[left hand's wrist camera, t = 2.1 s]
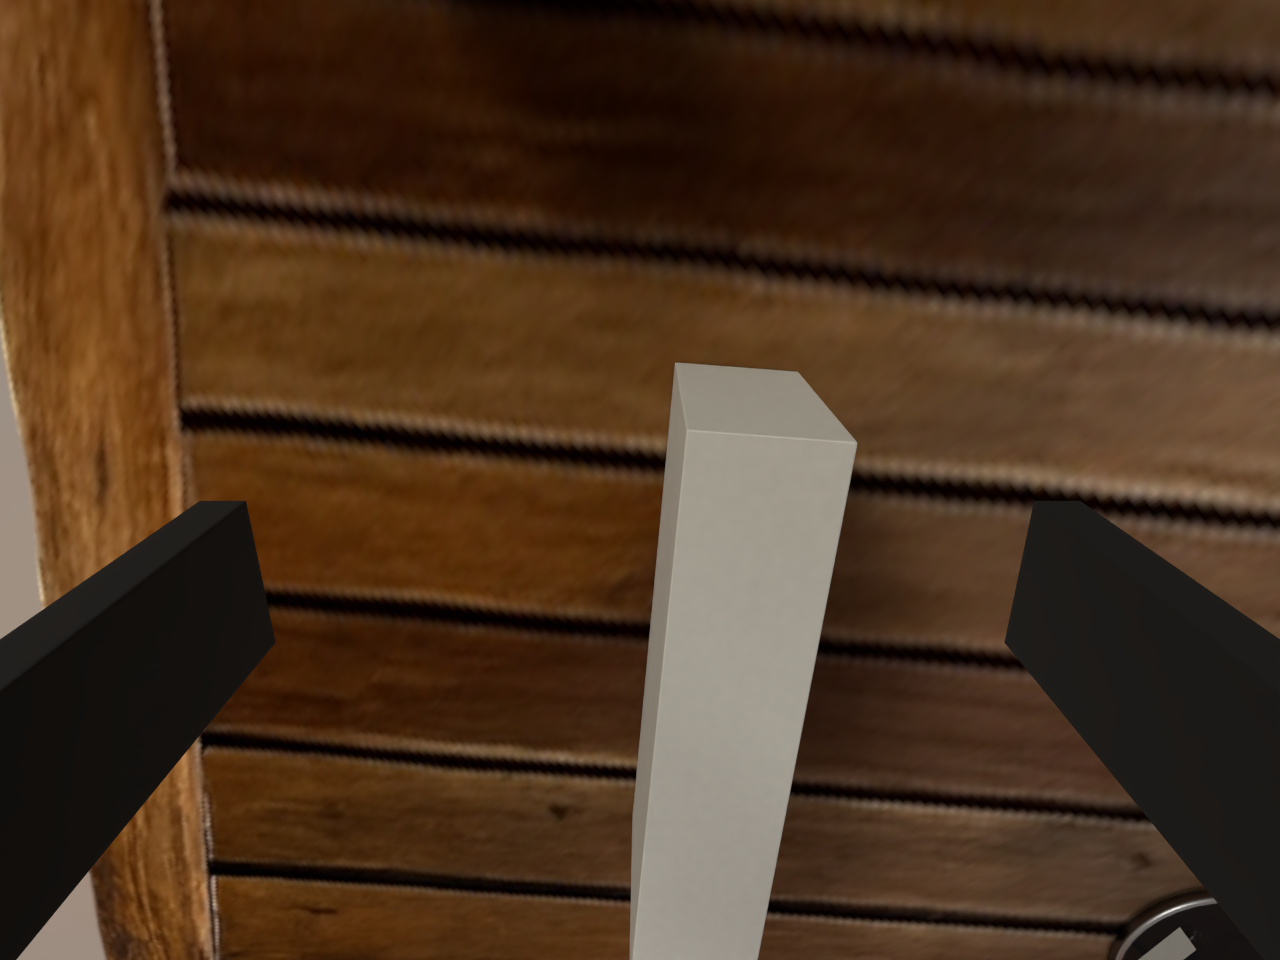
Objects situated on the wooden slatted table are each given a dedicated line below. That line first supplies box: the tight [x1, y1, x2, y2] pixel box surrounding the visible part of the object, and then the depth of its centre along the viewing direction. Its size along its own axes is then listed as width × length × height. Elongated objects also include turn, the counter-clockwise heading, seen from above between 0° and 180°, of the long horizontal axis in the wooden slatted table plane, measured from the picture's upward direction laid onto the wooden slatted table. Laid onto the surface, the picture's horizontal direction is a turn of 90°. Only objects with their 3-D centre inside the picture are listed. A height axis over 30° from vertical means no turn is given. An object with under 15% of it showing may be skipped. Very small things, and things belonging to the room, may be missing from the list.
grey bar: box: [630, 363, 857, 960], centre depth 30 cm, size 24×5×9 cm, turn 176°
